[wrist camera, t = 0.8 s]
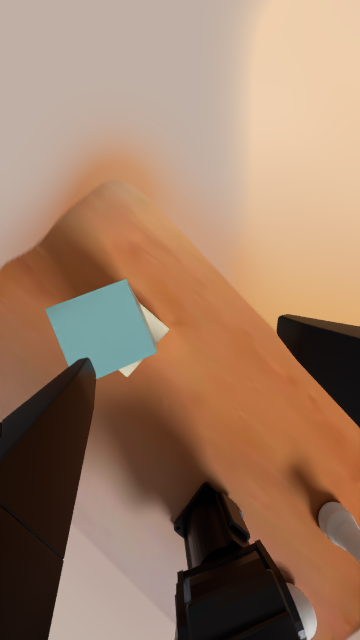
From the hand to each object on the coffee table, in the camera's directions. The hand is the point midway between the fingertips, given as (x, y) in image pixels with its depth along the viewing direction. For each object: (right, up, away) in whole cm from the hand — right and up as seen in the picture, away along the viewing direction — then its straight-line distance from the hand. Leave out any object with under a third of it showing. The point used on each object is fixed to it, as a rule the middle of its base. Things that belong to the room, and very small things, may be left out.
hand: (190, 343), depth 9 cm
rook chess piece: (+20, -26, +18) cm, 37 cm away
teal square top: (-7, 0, +13) cm, 14 cm away
